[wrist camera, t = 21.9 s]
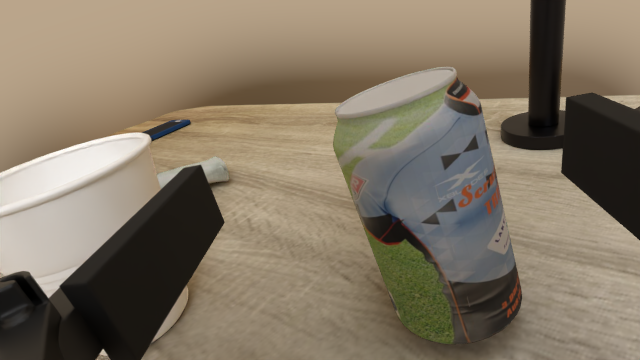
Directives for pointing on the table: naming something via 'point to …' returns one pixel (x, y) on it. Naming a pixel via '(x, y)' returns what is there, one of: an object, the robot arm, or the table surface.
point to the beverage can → (431, 204)
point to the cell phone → (166, 128)
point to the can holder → (542, 82)
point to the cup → (75, 208)
